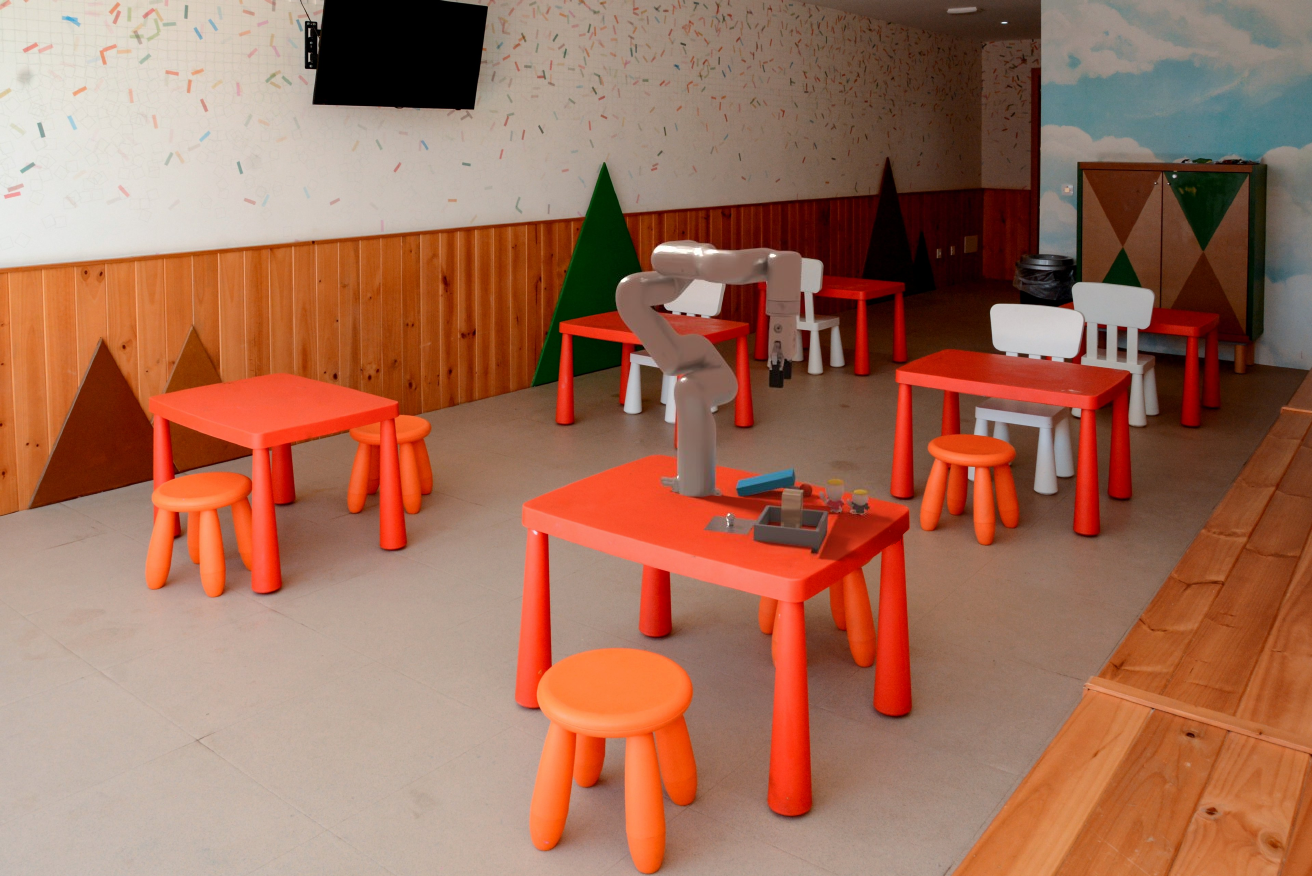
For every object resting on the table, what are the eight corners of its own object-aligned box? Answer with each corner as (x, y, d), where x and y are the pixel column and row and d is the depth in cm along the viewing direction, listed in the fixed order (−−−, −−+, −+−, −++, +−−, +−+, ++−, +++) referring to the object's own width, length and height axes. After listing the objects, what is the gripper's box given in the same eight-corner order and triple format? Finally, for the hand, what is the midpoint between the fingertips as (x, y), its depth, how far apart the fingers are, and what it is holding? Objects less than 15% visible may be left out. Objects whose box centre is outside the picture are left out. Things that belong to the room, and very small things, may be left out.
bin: (753, 546, 230) (753, 524, 229) (766, 525, 243) (766, 505, 242) (817, 553, 226) (818, 531, 225) (827, 532, 239) (828, 511, 238)
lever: (743, 514, 266) (813, 499, 262) (736, 488, 264) (806, 473, 260) (745, 505, 272) (814, 491, 268) (738, 480, 271) (807, 465, 267)
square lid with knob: (703, 536, 237) (703, 517, 235) (714, 521, 246) (714, 504, 245) (747, 541, 234) (747, 522, 233) (756, 526, 243) (757, 508, 242)
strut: (798, 539, 232) (800, 495, 230) (780, 537, 233) (781, 493, 231) (801, 533, 236) (803, 490, 233) (783, 531, 237) (785, 488, 234)
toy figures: (870, 512, 253) (872, 478, 251) (869, 518, 249) (871, 484, 247) (819, 508, 256) (820, 475, 254) (817, 513, 252) (819, 480, 250)
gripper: (792, 313, 227) (789, 392, 231) (806, 303, 243) (803, 376, 247) (758, 312, 229) (755, 389, 233) (773, 302, 245) (771, 374, 249)
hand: (780, 383), depth 240 cm, fingers open, 9 cm apart
